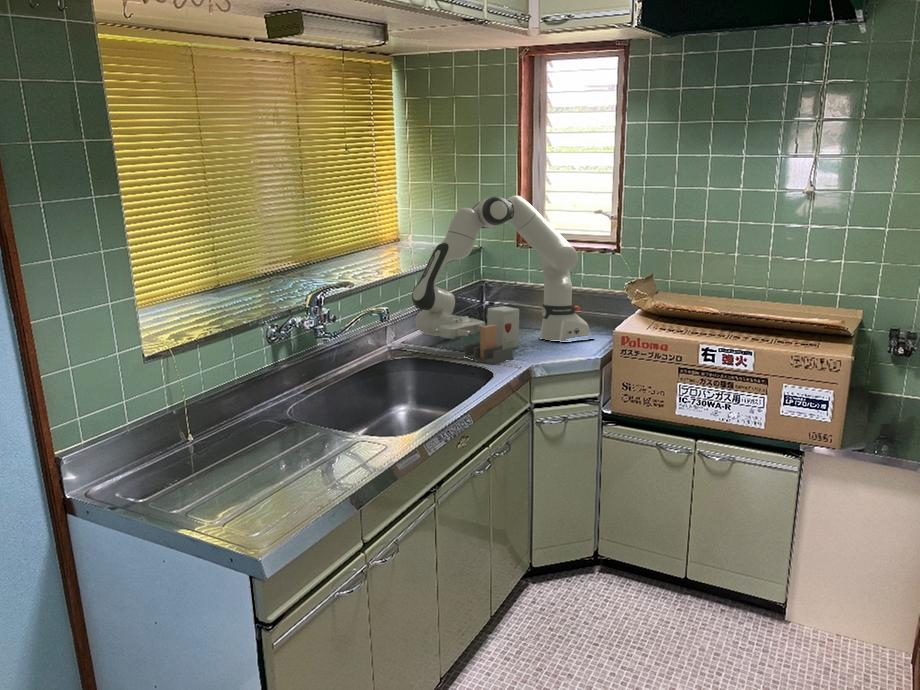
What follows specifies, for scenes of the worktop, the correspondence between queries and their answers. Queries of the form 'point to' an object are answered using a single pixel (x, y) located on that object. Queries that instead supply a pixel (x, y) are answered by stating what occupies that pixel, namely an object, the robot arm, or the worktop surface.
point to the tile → (488, 337)
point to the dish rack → (489, 354)
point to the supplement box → (505, 325)
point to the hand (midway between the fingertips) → (477, 331)
